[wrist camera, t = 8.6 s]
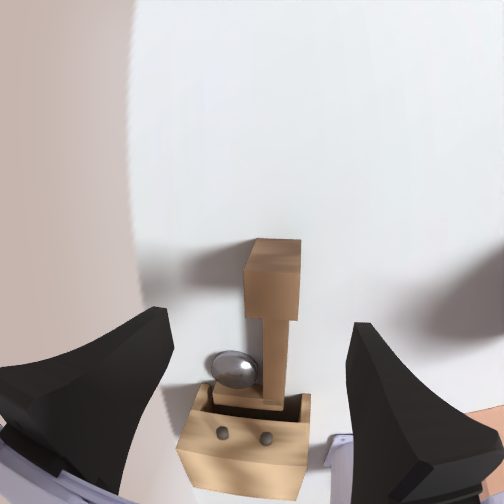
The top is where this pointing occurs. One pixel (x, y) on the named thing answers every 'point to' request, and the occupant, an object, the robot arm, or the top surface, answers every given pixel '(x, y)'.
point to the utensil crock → (500, 420)
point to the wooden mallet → (268, 319)
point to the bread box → (244, 451)
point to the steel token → (234, 369)
